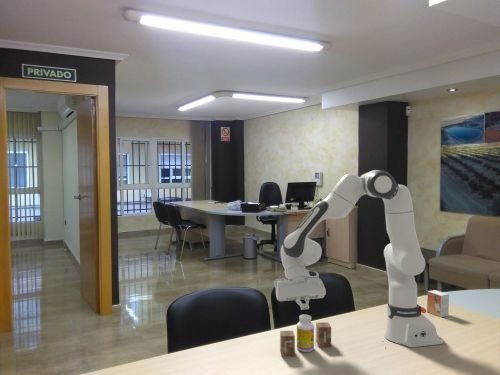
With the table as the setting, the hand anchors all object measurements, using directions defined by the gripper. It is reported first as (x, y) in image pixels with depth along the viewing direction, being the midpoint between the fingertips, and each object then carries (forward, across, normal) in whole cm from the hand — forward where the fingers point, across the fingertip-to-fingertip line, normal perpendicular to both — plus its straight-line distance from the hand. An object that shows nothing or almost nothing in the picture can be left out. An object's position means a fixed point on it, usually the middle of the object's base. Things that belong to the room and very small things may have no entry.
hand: (305, 308), depth 159 cm
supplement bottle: (+12, 0, +11) cm, 16 cm away
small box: (-3, +76, +25) cm, 80 cm away
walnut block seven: (+13, -8, +10) cm, 18 cm away
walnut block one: (+10, +9, +13) cm, 18 cm away
